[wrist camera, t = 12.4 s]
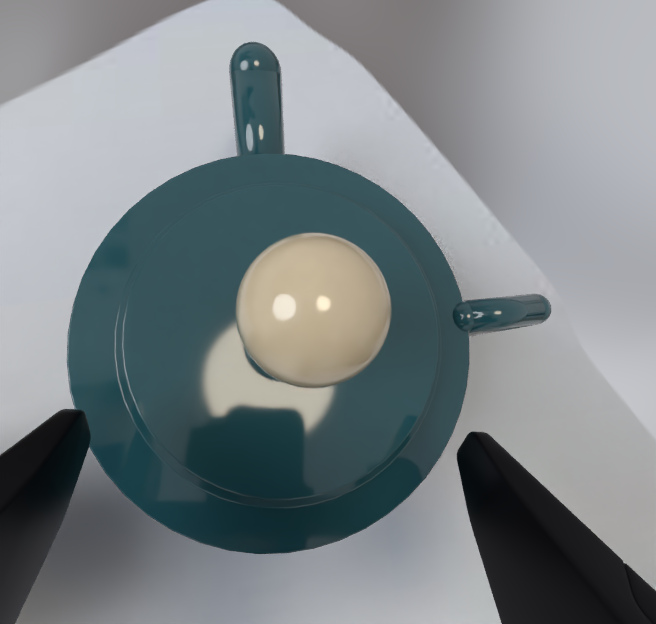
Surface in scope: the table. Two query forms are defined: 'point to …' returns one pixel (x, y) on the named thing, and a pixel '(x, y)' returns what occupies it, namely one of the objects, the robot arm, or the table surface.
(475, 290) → the table surface
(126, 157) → the table surface
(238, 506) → the teapot
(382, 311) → the teapot lid
